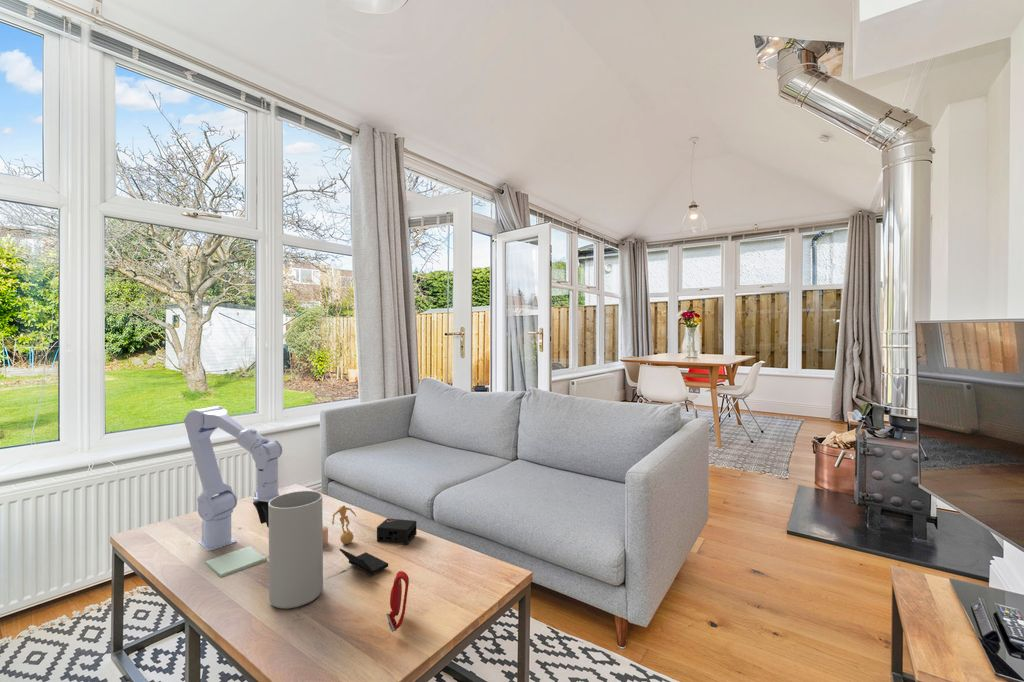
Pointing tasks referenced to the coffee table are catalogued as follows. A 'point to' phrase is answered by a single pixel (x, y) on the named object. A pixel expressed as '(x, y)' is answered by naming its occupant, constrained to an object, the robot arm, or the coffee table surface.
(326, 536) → the pink rounded capsule
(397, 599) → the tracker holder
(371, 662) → the coffee table surface
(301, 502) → the cylinder vase
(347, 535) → the figurine
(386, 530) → the electronic device
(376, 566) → the black angular piece
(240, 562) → the sage board
